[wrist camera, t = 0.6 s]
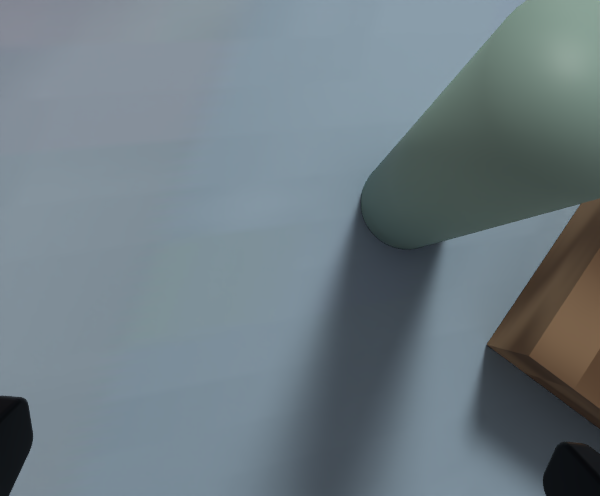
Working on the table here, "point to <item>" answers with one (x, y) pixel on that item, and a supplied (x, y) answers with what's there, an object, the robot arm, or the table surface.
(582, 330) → the square wooden frame
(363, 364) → the table surface
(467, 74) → the sage peg
